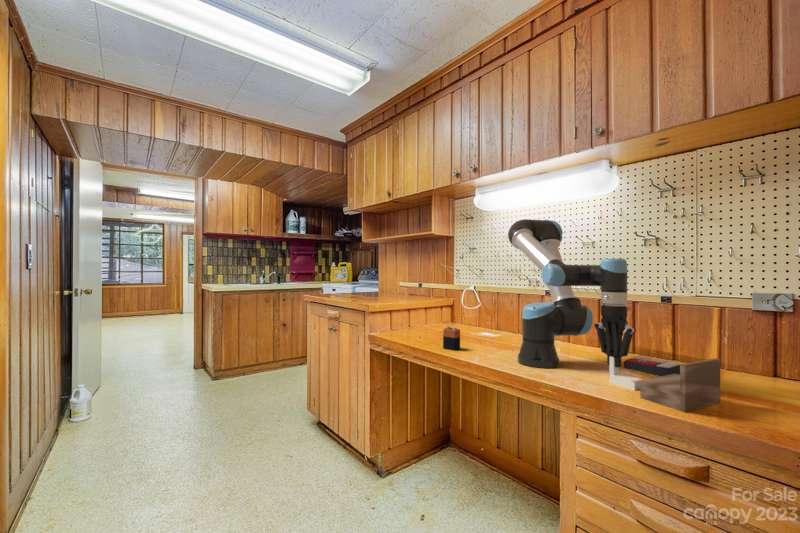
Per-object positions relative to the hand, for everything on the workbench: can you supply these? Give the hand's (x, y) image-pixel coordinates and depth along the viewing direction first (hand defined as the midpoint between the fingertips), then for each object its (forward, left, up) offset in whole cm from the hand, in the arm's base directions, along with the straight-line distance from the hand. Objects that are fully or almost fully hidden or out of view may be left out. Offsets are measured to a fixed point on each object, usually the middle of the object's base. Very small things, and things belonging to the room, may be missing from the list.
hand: (614, 376), depth 117 cm
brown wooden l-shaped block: (+19, 0, -1) cm, 19 cm away
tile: (+5, 0, -2) cm, 5 cm away
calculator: (-2, +25, -2) cm, 25 cm away
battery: (-61, -24, -2) cm, 65 cm away
